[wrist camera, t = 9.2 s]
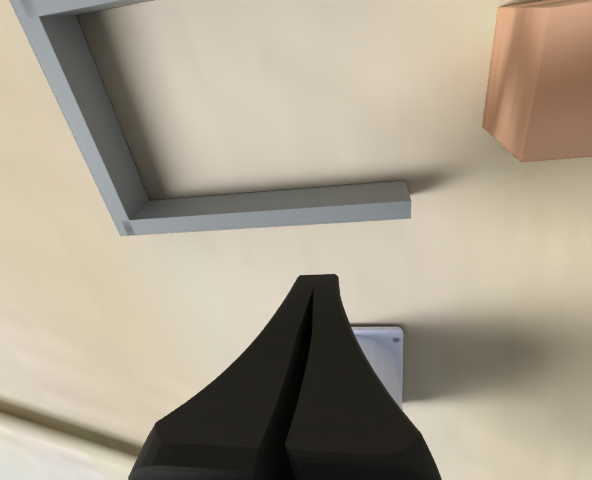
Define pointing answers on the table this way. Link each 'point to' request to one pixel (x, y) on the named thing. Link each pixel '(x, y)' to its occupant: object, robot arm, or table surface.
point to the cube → (542, 80)
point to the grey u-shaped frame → (120, 165)
